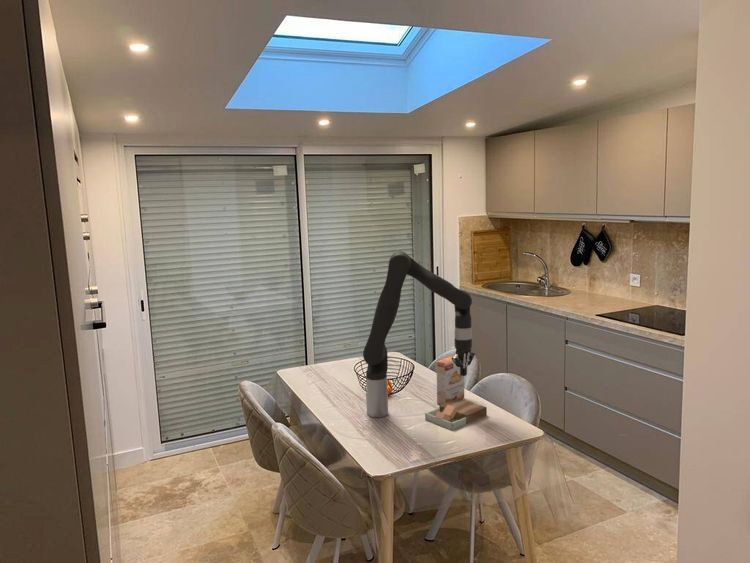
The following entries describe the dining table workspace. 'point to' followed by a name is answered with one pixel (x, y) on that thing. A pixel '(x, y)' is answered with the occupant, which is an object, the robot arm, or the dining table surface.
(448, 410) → the tile
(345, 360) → the dining table surface
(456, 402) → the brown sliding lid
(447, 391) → the cracker box
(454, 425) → the tray
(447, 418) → the tile
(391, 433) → the dining table surface
